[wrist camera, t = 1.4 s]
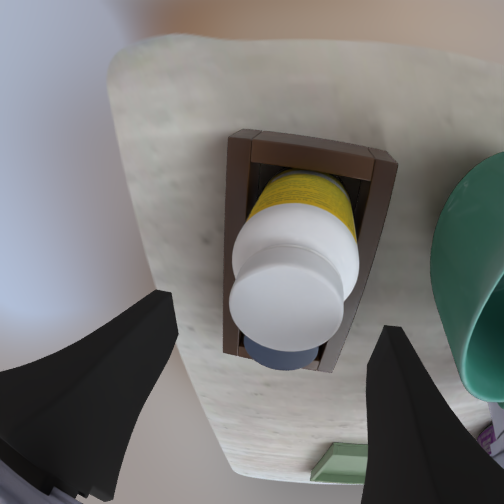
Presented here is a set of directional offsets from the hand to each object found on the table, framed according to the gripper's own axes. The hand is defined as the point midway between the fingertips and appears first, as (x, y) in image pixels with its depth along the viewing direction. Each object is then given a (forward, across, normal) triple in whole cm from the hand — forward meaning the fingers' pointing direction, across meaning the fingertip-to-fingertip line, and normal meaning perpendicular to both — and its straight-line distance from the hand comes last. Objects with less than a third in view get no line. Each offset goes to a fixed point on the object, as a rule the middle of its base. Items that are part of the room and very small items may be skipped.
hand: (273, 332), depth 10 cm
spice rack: (+10, 0, +3) cm, 11 cm away
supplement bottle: (+11, 0, 0) cm, 11 cm away
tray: (+10, -16, +37) cm, 41 cm away
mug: (+10, -14, +1) cm, 18 cm away
